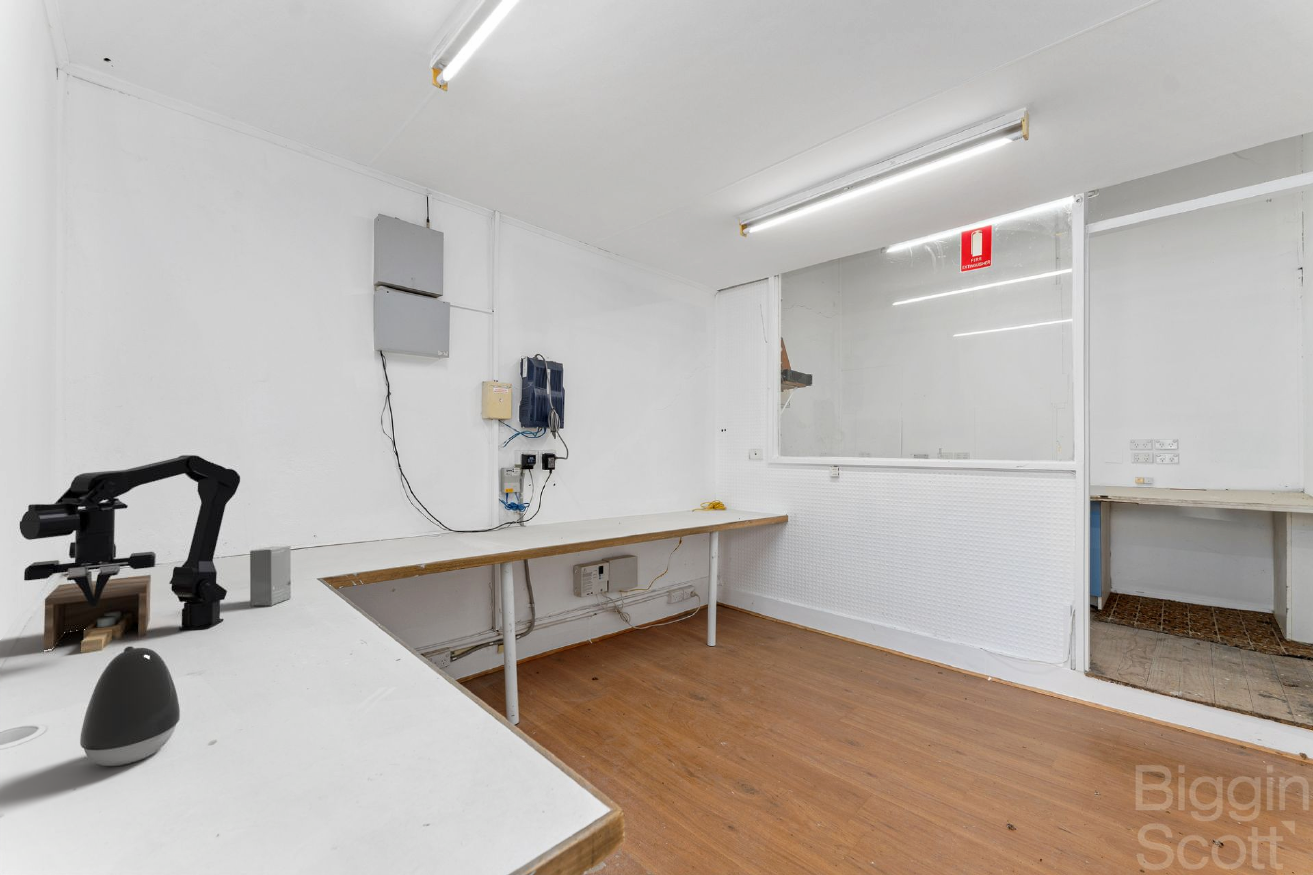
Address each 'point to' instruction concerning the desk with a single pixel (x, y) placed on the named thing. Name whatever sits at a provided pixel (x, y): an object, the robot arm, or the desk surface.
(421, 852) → the desk surface
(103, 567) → the robot arm
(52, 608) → the wooden drawer organizer
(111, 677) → the dark grey egg dome
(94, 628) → the tray
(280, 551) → the skincare box
